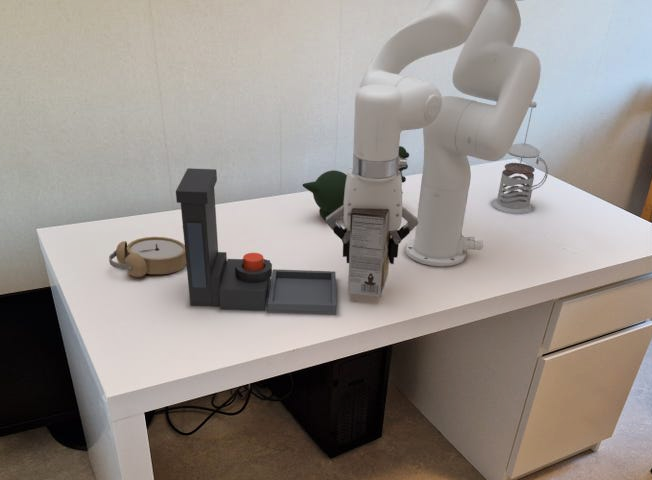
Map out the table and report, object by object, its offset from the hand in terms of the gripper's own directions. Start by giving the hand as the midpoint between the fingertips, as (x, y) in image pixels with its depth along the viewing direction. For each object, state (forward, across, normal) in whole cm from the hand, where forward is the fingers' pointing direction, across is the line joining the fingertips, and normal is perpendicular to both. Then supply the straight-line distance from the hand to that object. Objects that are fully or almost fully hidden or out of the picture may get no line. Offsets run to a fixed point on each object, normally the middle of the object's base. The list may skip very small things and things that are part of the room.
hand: (369, 259), depth 121 cm
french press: (+9, -39, -47) cm, 62 cm away
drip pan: (+7, +12, +2) cm, 14 cm away
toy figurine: (+8, +2, -37) cm, 38 cm away
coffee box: (+5, 0, 0) cm, 5 cm away
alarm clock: (+7, +43, -8) cm, 44 cm away
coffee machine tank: (+6, +30, +2) cm, 31 cm away
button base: (+7, +23, +2) cm, 24 cm away
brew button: (+1, +21, +2) cm, 21 cm away
